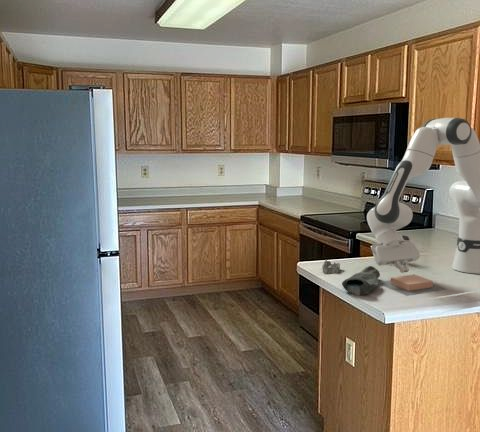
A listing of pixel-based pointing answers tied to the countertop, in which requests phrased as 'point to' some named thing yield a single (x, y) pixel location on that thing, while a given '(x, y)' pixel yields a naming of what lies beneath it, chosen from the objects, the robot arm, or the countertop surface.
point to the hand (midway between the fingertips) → (405, 271)
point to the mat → (413, 292)
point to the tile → (411, 282)
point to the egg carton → (331, 267)
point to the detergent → (362, 281)
